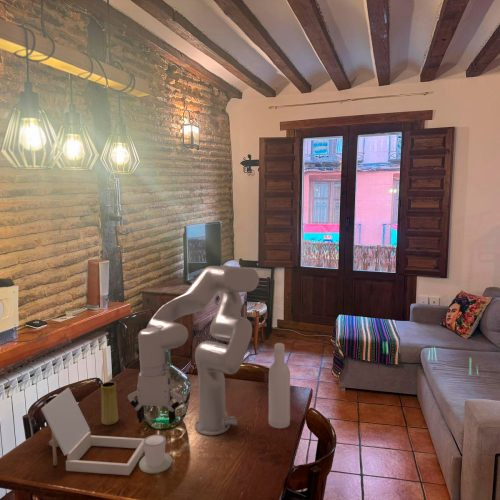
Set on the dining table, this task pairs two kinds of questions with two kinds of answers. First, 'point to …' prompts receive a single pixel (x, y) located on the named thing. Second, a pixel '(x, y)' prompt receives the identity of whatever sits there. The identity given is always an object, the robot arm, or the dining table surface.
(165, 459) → the saucer
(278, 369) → the bottle
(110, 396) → the vase
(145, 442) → the shot glass
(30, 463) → the dining table surface
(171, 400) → the robot arm
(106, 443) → the cold frame
